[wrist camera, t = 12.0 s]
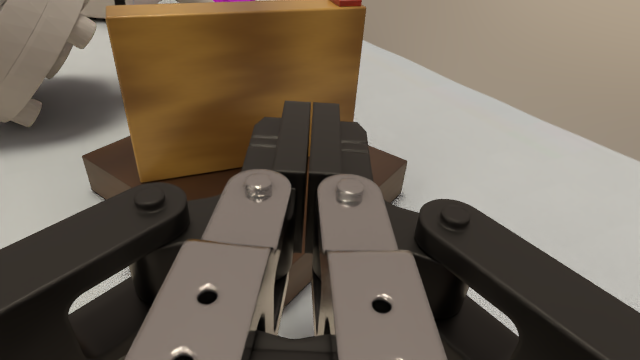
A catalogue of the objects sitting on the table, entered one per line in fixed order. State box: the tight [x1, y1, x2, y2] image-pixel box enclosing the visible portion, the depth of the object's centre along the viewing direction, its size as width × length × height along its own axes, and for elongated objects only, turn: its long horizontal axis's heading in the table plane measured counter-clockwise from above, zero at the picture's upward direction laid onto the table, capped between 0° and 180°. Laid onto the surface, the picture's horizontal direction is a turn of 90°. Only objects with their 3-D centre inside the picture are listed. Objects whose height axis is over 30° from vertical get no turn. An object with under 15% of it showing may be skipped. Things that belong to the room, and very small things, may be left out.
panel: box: [82, 136, 407, 308], centre depth 22 cm, size 14×14×2 cm
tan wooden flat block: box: [106, 0, 366, 183], centre depth 19 cm, size 10×2×7 cm, turn 111°
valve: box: [0, 0, 214, 127], centre depth 29 cm, size 10×20×15 cm
